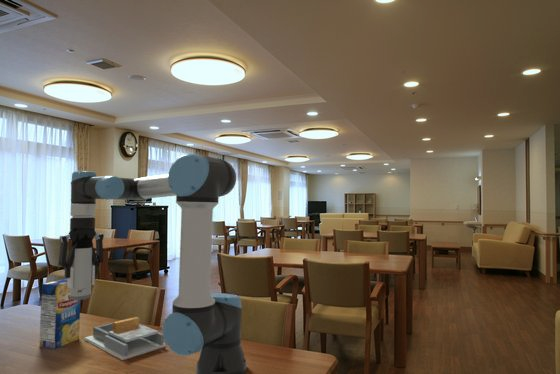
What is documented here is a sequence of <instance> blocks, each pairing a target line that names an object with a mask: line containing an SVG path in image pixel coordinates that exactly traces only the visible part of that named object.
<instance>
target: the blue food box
mask: <svg viewBox="0 0 560 374" xmlns="http://www.w3.org/2000/svg"><path fill="white" fill-rule="evenodd" d="M40 296H41V298H40V299H41V301H40V306H41V307H40V320H39V321H40V322H39V323H40V325H39V347H40V348H45V349H53V350H56V349H58V348H60V347H63V346H66V345H68V344H70V343H72V342H74V341H77V340H80V326H81V325H80V322H81V320H80V319H81V300H71V299H70V288H68V287H67V278H63V279H59V280H54V281H50V282H46V283H42V284H41V295H40Z"/></svg>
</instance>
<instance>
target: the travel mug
mask: <svg viewBox="0 0 560 374" xmlns="http://www.w3.org/2000/svg"><path fill="white" fill-rule="evenodd" d="M93 240H94V238H87V239H83V240H75V241H72V240H71V244H72V247H73V246H74V245H75V244H76V242H77V247H75V257H74V260H73V263H72V266H71V268H74V273H73V288H70V299H71V300H80V301H81V300H86V299H90V298H91V297H92V285H91V274H92V246H91V245H92V242H93Z"/></svg>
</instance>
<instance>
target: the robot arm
mask: <svg viewBox="0 0 560 374" xmlns="http://www.w3.org/2000/svg"><path fill="white" fill-rule="evenodd" d="M236 182H237V173H236V170H235V168H234V166H233V165H232V164H231V163H230V162H229V161H227V160H225V159H222V158H219V157H218V158H216V157H214V156H213V157H212V156H208V155H204V154H199V153H186V154H183V155H181V156H179V157H178V158H176V160H175V161H174V162H173V163H172V164H171V165H170V168H169V170H168V173H166V174H160V175H153V176H143V177H139V178H136V177H135V178H127V177H119V176H116V175H103V176H97V173H96V172H95V171H90V170H76V171H73V172H72V174H71V181H70V219H69V222H70V223H69V232H68V234H65V235H60V236H59V241H60V247H59V248H60V249H59V256H58V265H57V266H58V267H62V268H64V279H67V287H68V288H73V273H74V268H71V266H72V263H73V260H74V257H75V247H77V242H76V244H75V245H74V246H73V247H72V243H71V244H70V249H69V251H68V246H69V245H68V244H69V243H68V242H69V239H70V240H71V242H72V241H75V240H83V239H87V238H93V239H95V248H94V243H93V241H92V245H91V246H92V274H91V286H95V282H96V280H95V277H96V276H95V275H97V274H98V266H99V265H100V263H104V245H103V244H104V243H103V240H104V238H105V237H104V236H105V235H104V233H97V232H96V230H95V229H96V228H95V227H96V218H95V216H96V203H97V202H96V200H123V201H125V200H132V201H145V200H146V201H147V200H148V199H155V198H166V197H174V196H175V199H176V200H175V201H176V202H175V203H176V204H177V205H178V206H179V208H180V209H181V211H180V213H181V216H180V239H179V241H180V243H179V273H178V274H179V276H178V296H177V297H175V298H174V300H173V301H172V309H171V310H172V311H171V312H172V313H169V314H168V315H167V316H166V318H165V319H164V321H163V323H162V334H163V337H164V341H165V342H164V343H165V345H167V346H168V347H169V349H170V350H171V351H172V352H174V354H177V355H178V356H183V357H185V356H186V357H187V356H190V355H193V354H196V353H199V352H200V354H199V358H198V360H197V362H196V366H195V367H196V370H195V371H196V374H245V373H246V372H245V371H247V360H246V358H245V353H244V350H243V347H242V309H243V307H242V299H241V297H240V296H239V295H236V294H233V293H223V292H222V293H221V292H220V293H219V292H217V293H216V292H213V293H211V281H212V279H211V276H212V275H211V274H212V273H211V272H212V243H213V217H214V215H213V214H214V208H215V207H216V206H217V205H218V204H219V198H220V197H221V198H222V197H225V196H226V195H228V194H230V192H232V191H233V189H234V188H235V186H236V184H237V183H236ZM95 250H96V251H95Z"/></svg>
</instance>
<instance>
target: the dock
mask: <svg viewBox="0 0 560 374" xmlns="http://www.w3.org/2000/svg"><path fill="white" fill-rule="evenodd" d="M109 331H113V322H110V323H106V324H102V325H96V326H94V327H93V329H92V332H93V333H92V335H89V336H86V337H84V341H85V342H87V343H89V344H90V345H93V346H95V347H97V348H99V349H101V350H103V351H104V352H106V353H108V354H109V355H112V356H113V357H116V358H117V359H119V360H121V361H124V360H127V359H130V358H134V357H137V356H141V355H145V354H146V353H149V352H152V351H157V350H159V349H162V348H165V347H166V342H164V341H165V340H164V337H163V332H162V333H161V332H159V331H158V334H154V335H151V336H147V337H144V338H140V339H136V340H133V341H129V342H124V341H122V340H120V339H118V338H116V337H113V336H111V335H109V334H108V332H109Z"/></svg>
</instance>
